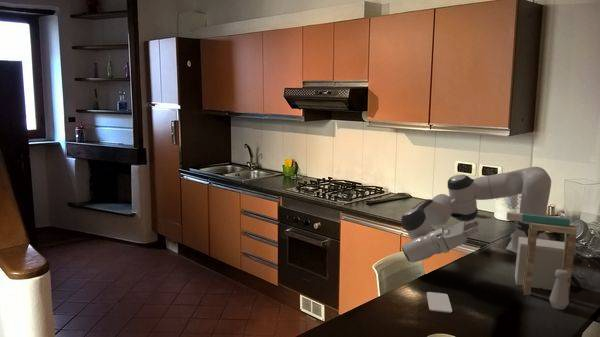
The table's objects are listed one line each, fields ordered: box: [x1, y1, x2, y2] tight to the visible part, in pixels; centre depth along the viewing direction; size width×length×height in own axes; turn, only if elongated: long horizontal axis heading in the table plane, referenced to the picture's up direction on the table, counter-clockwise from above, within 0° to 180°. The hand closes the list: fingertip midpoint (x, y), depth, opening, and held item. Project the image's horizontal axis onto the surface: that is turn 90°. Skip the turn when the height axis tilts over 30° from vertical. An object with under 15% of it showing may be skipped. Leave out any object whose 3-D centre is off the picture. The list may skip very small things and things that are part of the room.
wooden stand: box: [522, 222, 578, 297], centre depth 174 cm, size 7×14×26 cm, turn 70°
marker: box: [506, 211, 571, 226], centre depth 173 cm, size 2×20×2 cm, turn 70°
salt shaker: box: [548, 269, 570, 311], centre depth 164 cm, size 6×6×13 cm
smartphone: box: [426, 291, 453, 314], centre depth 166 cm, size 7×1×15 cm
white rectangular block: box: [514, 237, 565, 291], centre depth 184 cm, size 10×16×16 cm, turn 70°
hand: (477, 225), depth 181 cm, fingers open, 8 cm apart
